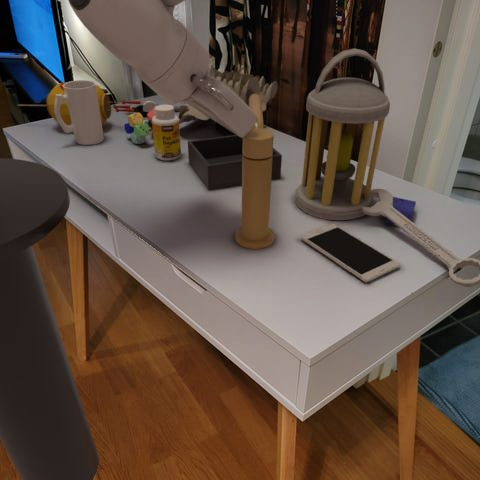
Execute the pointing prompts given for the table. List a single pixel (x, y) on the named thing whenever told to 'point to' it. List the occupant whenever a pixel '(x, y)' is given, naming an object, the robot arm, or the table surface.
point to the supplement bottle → (166, 133)
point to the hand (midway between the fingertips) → (237, 128)
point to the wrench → (420, 236)
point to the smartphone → (350, 252)
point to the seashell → (241, 86)
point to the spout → (258, 134)
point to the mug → (81, 111)
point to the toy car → (222, 129)
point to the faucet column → (255, 204)
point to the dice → (137, 128)
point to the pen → (176, 108)
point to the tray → (223, 161)
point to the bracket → (402, 208)
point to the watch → (145, 108)
